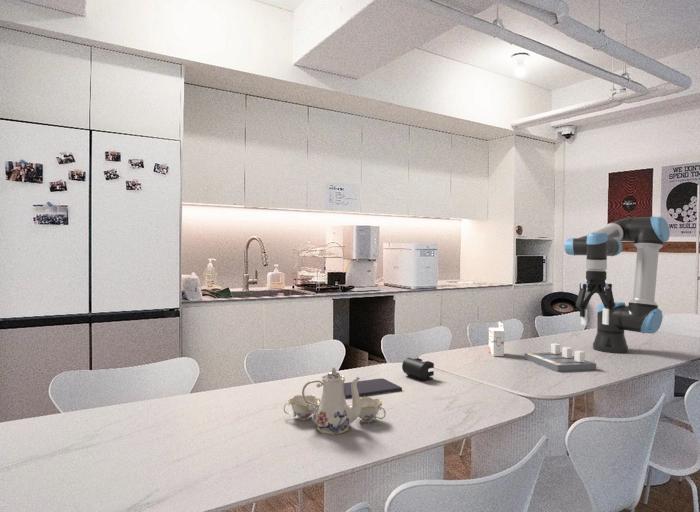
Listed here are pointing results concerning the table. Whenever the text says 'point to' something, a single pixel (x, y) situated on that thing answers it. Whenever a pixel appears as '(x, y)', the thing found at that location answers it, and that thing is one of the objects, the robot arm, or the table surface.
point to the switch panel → (559, 362)
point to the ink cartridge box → (496, 340)
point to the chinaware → (334, 405)
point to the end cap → (418, 368)
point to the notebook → (371, 387)
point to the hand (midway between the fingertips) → (594, 324)
